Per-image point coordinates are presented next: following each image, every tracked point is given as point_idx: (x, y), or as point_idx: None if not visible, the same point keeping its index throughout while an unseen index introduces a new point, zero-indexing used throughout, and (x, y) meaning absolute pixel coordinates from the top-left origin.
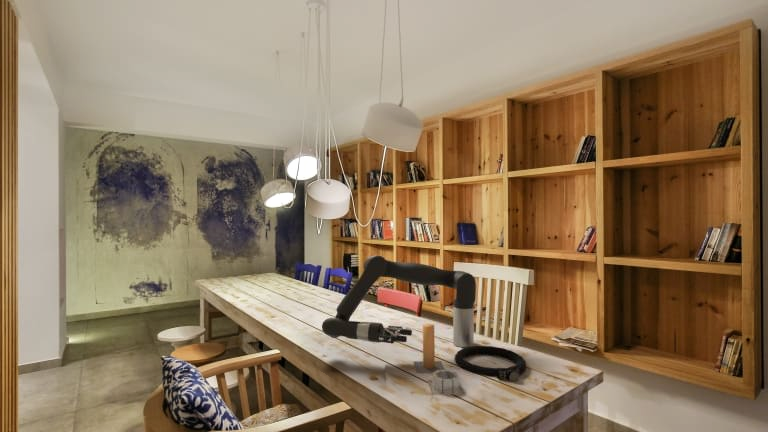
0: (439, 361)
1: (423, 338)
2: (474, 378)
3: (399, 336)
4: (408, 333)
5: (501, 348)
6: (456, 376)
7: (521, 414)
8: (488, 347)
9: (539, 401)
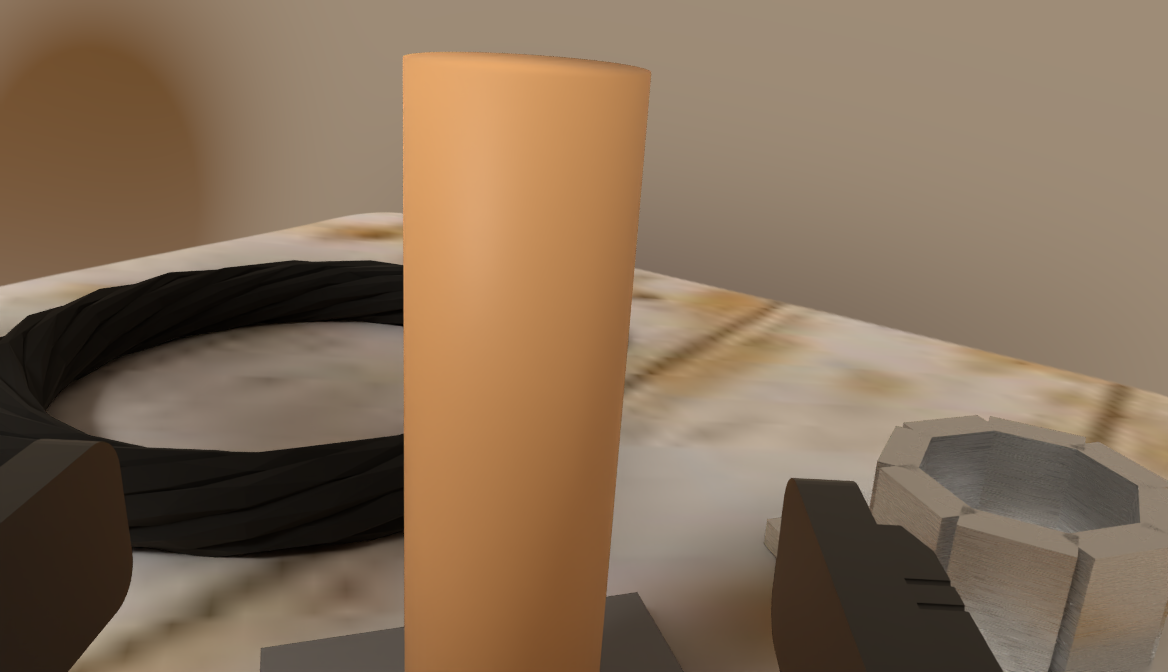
0: (274, 660)
1: (578, 355)
2: (621, 466)
3: (919, 625)
4: (76, 591)
5: (100, 294)
6: (986, 424)
7: (1001, 360)
8: (44, 331)
9: (802, 317)
